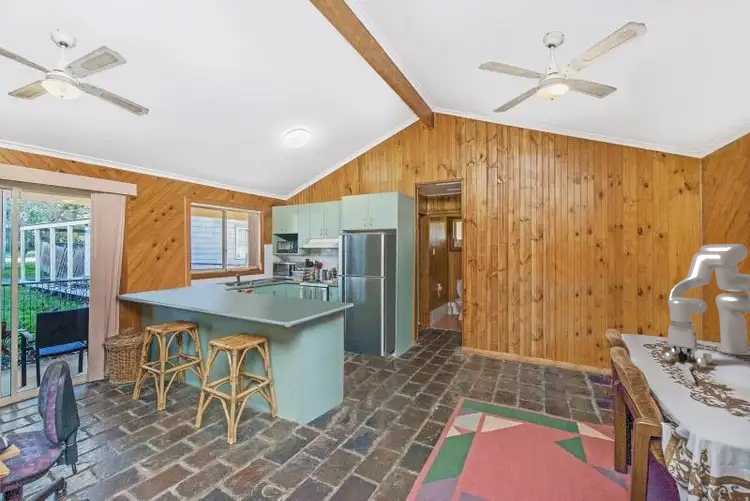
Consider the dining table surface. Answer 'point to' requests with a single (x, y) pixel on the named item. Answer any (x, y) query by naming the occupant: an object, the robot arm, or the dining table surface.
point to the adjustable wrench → (686, 372)
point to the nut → (676, 358)
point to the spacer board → (708, 367)
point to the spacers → (690, 358)
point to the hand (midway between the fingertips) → (683, 360)
